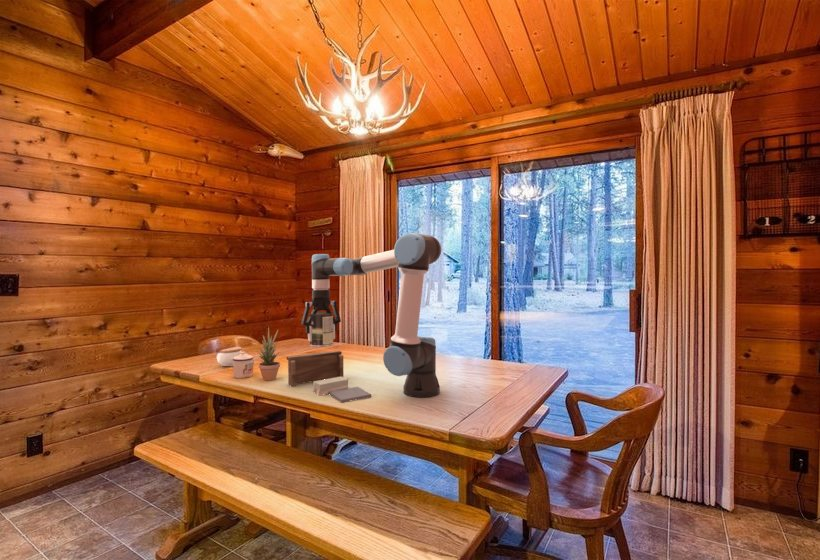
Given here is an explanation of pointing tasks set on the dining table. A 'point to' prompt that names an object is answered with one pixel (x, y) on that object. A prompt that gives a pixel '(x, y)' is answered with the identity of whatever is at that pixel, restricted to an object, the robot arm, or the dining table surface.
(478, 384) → the dining table surface
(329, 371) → the walnut rack
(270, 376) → the potted plant
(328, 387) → the upper offcut
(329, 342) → the coffee can
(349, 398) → the slate mat
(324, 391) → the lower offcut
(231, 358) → the lidded bowl
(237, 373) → the teacup with lid
